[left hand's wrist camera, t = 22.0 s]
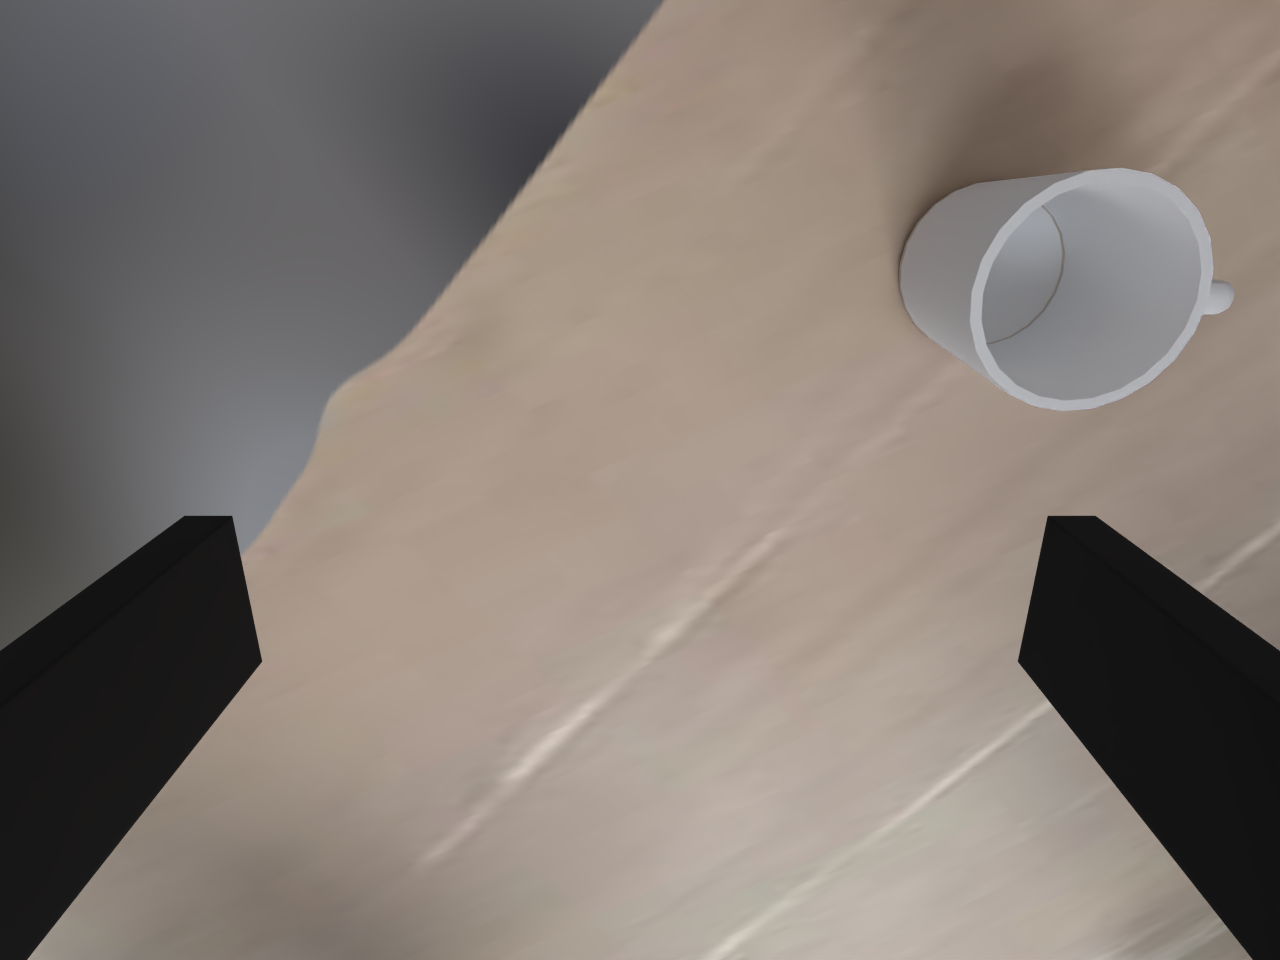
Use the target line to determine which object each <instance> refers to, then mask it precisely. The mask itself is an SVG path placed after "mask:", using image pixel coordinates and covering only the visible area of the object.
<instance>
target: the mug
mask: <svg viewBox="0 0 1280 960" xmlns="http://www.w3.org/2000/svg"><path fill="white" fill-rule="evenodd" d="M1213 270H1214V268H1213V258H1212V248H1211V238H1210V236H1209V233H1208V231H1207V229H1206V226H1205V224H1204V222H1203V219H1202V217H1201V214H1200V212H1199V210H1198V209H1197V208H1196V207H1195V206H1194V205H1193V203H1192V202H1191V201H1190V200H1189V199H1188V198H1187V197H1186V196H1185V194H1184V193H1183V192H1182V191H1181V190H1180V189H1179V188H1178V187H1176V186H1174V185H1172V184H1170V183H1169V182H1167V181H1165V180H1163V179H1161V178H1160V177H1158V176H1156V175H1154V174H1152V173H1147V172H1142V171H1136V170H1131V169H1126V168H1108V169H1098V170H1087V171H1078V172H1069V173H1061V174H1052V175H1044V176H1035V177H1026V178H1018V179H1009V180H1001V181H992V182H983V183H974V184H972V185H969V186H966V187H964V188H961V189H958V190H956V191H953V192H951V193H950V194H949V195H947V196H946V197H944V198H943V199H941V200H940V201H938V202H937V203H935V204H934V205H933V206H932V207H931V208H930V209H929V210H928V211H927V212H926V213H925V215H924V216H923V217H922V218H921V219H920V220H919V221H918V222H917V224H916V226H915V227H914V229H913V231H912V233H911V234H910V236H909V238H908V240H907V242H906V244H905V247H904V251H903V254H902V258H901V261H900V265H899V289H900V293H901V298H902V302H903V306H904V308H905V310H906V311H907V313H908V315H909V317H910V318H911V320H912V322H913V324H914V325H915V326H916V327H918V328H919V329H920V330H921V331H922V332H923V333H924V334H925V335H926V336H927V337H929V338H930V339H932V340H933V341H934V342H936V343H937V344H939V345H940V346H941V347H943V348H944V349H946V350H947V351H948V352H950V353H951V354H953V355H954V356H955V357H957V358H958V359H960V360H961V361H962V362H964V363H965V364H967V365H968V366H969V367H971V368H972V369H974V370H975V371H976V372H978V373H979V374H981V375H982V376H984V377H985V378H986V379H988V380H989V381H991V382H992V383H993V384H995V385H996V386H998V387H999V388H1000V389H1002V390H1003V391H1005V392H1006V393H1008V394H1010V395H1012V396H1014V397H1016V398H1018V399H1020V400H1022V401H1024V402H1026V403H1028V404H1030V405H1032V406H1035V407H1041V408H1047V409H1052V410H1058V411H1070V410H1082V409H1092V408H1095V407H1099V406H1102V405H1105V404H1108V403H1111V402H1114V401H1117V400H1120V399H1122V398H1124V397H1126V396H1128V395H1129V394H1131V393H1133V392H1134V391H1136V390H1138V389H1139V388H1141V387H1143V386H1144V385H1146V384H1148V383H1150V382H1151V381H1152V380H1153V379H1154V378H1155V377H1156V376H1158V375H1159V374H1160V373H1161V372H1162V371H1163V370H1164V369H1165V368H1166V367H1167V366H1168V365H1170V364H1171V363H1172V362H1173V361H1174V360H1175V359H1176V358H1177V356H1178V355H1179V353H1180V352H1181V351H1182V349H1183V348H1184V346H1185V345H1186V344H1187V342H1188V341H1189V339H1190V338H1191V337H1192V335H1193V334H1194V332H1195V331H1196V328H1197V326H1198V324H1199V321H1200V319H1201V317H1202V314H1218V313H1221V312H1223V311H1224V310H1226V309H1228V308H1229V306H1230V305H1231V303H1232V301H1233V300H1234V288H1233V287H1232V286H1231V284H1230V283H1229V282H1225V281H1222V280H1216V279H1212V276H1213Z"/></svg>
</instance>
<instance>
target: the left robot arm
mask: <svg viewBox="0 0 1280 960" xmlns="http://www.w3.org/2000/svg"><path fill="white" fill-rule="evenodd" d="M261 662H262V659H261V654H260V649H259V644H258V639H257V634H256V629H255V624H254V620H253V615H252V610H251V605H250V600H249V595H248V590H247V586H246V581H245V576H244V571H243V566H242V561H241V556H240V552H239V547H238V542H237V537H236V532H235V527H234V523H233V517H232V516H184V517H182V518H181V519H180V520H178V521H177V522H176V523H174V524H173V525H172V526H170V527H169V528H167V529H166V530H165V531H163V532H162V533H161V534H159V535H158V536H157V537H155V538H154V539H152V540H151V541H150V542H148V543H147V544H146V545H144V546H143V547H141V548H140V549H139V550H137V551H136V552H135V553H133V554H132V555H131V556H129V557H128V558H127V559H125V560H124V561H122V562H121V563H120V564H118V565H117V566H116V567H114V568H113V569H111V570H110V571H109V572H107V573H106V574H105V575H103V576H102V577H101V578H99V579H98V580H96V581H95V582H94V583H92V584H91V585H90V586H88V587H87V588H86V589H84V590H83V591H81V592H80V593H79V594H77V595H76V596H75V597H73V598H72V599H71V600H69V601H68V602H66V603H65V604H64V605H62V606H61V607H60V608H58V609H57V610H56V611H54V612H53V613H51V614H50V615H49V616H47V617H46V618H45V619H43V620H42V621H41V622H39V623H38V624H36V625H35V626H34V627H32V628H31V629H30V630H28V631H27V632H26V633H24V634H23V635H21V636H20V637H19V638H17V639H16V640H15V641H13V642H12V643H10V644H9V645H8V646H6V647H5V648H4V649H2V650H1V651H0V960H27V959H28V958H29V957H30V955H31V954H32V953H33V951H34V950H35V949H36V948H37V946H38V945H39V944H40V943H41V941H42V940H43V939H44V938H45V936H46V935H47V934H48V932H49V931H50V930H51V929H52V927H53V926H54V925H55V924H56V922H57V921H58V920H59V918H60V917H61V916H62V915H63V913H64V912H65V911H66V910H67V908H68V907H69V906H70V905H71V903H72V902H73V901H74V899H75V898H76V897H77V896H78V894H79V893H80V892H81V891H82V889H83V888H84V887H85V885H86V884H87V883H88V882H89V880H90V879H91V878H92V877H93V875H94V874H95V873H96V872H97V870H98V869H99V868H100V866H101V865H102V864H103V863H104V861H105V860H106V859H107V858H108V856H109V855H110V854H111V853H112V851H113V850H114V849H115V847H116V846H117V845H118V844H119V842H120V841H121V840H122V839H123V837H124V836H125V835H126V833H127V832H128V831H129V830H130V828H131V827H132V826H133V825H134V823H135V822H136V821H137V820H138V818H139V817H140V816H141V814H142V813H143V812H144V811H145V809H146V808H147V807H148V806H149V804H150V803H151V802H152V801H153V799H154V798H155V797H156V795H157V794H158V793H159V792H160V790H161V789H162V788H163V787H164V785H165V784H166V783H167V781H168V780H169V779H170V778H171V776H172V775H173V774H174V773H175V771H176V770H177V769H178V768H179V766H180V765H181V764H182V762H183V761H184V760H185V759H186V757H187V756H188V755H189V754H190V752H191V751H192V750H193V749H194V747H195V746H196V745H197V743H198V742H199V741H200V740H201V738H202V737H203V736H204V735H205V733H206V732H207V731H208V729H209V728H210V727H211V726H212V724H213V723H214V722H215V721H216V719H217V718H218V717H219V716H220V714H221V713H222V712H223V710H224V709H225V708H226V707H227V705H228V704H229V703H230V702H231V700H232V699H233V698H234V697H235V695H236V694H237V693H238V691H239V690H240V689H241V688H242V686H243V685H244V684H245V683H246V681H247V680H248V679H249V677H250V676H251V675H252V674H253V672H254V671H255V670H256V669H257V667H258V666H259V665H260V664H261ZM1018 662H1019V664H1020V665H1021V666H1022V667H1023V669H1024V670H1025V671H1026V672H1027V674H1028V675H1029V676H1030V677H1031V679H1032V680H1033V681H1034V683H1035V684H1036V685H1037V686H1038V688H1039V689H1040V690H1041V691H1042V693H1043V694H1044V695H1045V697H1046V698H1047V699H1048V700H1049V702H1050V703H1051V704H1052V705H1053V707H1054V708H1055V709H1056V710H1057V712H1058V713H1059V714H1060V716H1061V717H1062V718H1063V719H1064V721H1065V722H1066V723H1067V724H1068V726H1069V727H1070V728H1071V729H1072V731H1073V732H1074V733H1075V735H1076V736H1077V737H1078V738H1079V740H1080V741H1081V742H1082V743H1083V745H1084V746H1085V747H1086V749H1087V750H1088V751H1089V752H1090V754H1091V755H1092V756H1093V757H1094V759H1095V760H1096V761H1097V762H1098V764H1099V765H1100V766H1101V768H1102V769H1103V770H1104V771H1105V773H1106V774H1107V775H1108V776H1109V778H1110V779H1111V780H1112V781H1113V783H1114V784H1115V785H1116V787H1117V788H1118V789H1119V790H1120V792H1121V793H1122V794H1123V795H1124V797H1125V798H1126V799H1127V801H1128V802H1129V803H1130V804H1131V806H1132V807H1133V808H1134V809H1135V811H1136V812H1137V813H1138V814H1139V816H1140V817H1141V818H1142V820H1143V821H1144V822H1145V823H1146V825H1147V826H1148V827H1149V828H1150V830H1151V831H1152V832H1153V833H1154V835H1155V836H1156V837H1157V839H1158V840H1159V841H1160V842H1161V844H1162V845H1163V846H1164V847H1165V849H1166V850H1167V851H1168V853H1169V854H1170V855H1171V856H1172V858H1173V859H1174V860H1175V861H1176V863H1177V864H1178V865H1179V866H1180V868H1181V869H1182V870H1183V872H1184V873H1185V874H1186V875H1187V877H1188V878H1189V879H1190V880H1191V882H1192V883H1193V884H1194V885H1195V887H1196V888H1197V889H1198V891H1199V892H1200V893H1201V894H1202V896H1203V897H1204V898H1205V899H1206V901H1207V902H1208V903H1209V905H1210V906H1211V907H1212V908H1213V910H1214V911H1215V912H1216V913H1217V915H1218V916H1219V917H1220V918H1221V920H1222V921H1223V922H1224V924H1225V925H1226V926H1227V927H1228V929H1229V930H1230V931H1231V932H1232V934H1233V935H1234V936H1235V938H1236V939H1237V940H1238V941H1239V943H1240V944H1241V945H1242V946H1243V948H1244V949H1245V950H1246V951H1247V953H1248V954H1249V955H1250V957H1251V958H1252V959H1253V960H1280V651H1279V650H1278V649H1276V648H1275V647H1274V646H1272V645H1271V644H1270V643H1268V642H1267V641H1265V640H1264V639H1263V638H1261V637H1260V636H1259V635H1257V634H1256V633H1254V632H1253V631H1252V630H1250V629H1249V628H1248V627H1246V626H1245V625H1244V624H1242V623H1241V622H1239V621H1238V620H1237V619H1235V618H1234V617H1233V616H1231V615H1230V614H1229V613H1227V612H1226V611H1224V610H1223V609H1222V608H1220V607H1219V606H1218V605H1216V604H1215V603H1214V602H1212V601H1211V600H1209V599H1208V598H1207V597H1205V596H1204V595H1203V594H1201V593H1200V592H1199V591H1197V590H1196V589H1194V588H1193V587H1192V586H1190V585H1189V584H1188V583H1186V582H1185V581H1184V580H1182V579H1181V578H1179V577H1178V576H1177V575H1175V574H1174V573H1173V572H1171V571H1170V570H1169V569H1167V568H1166V567H1164V566H1163V565H1162V564H1160V563H1159V562H1158V561H1156V560H1155V559H1154V558H1152V557H1151V556H1149V555H1148V554H1147V553H1145V552H1144V551H1143V550H1141V549H1140V548H1139V547H1137V546H1136V545H1134V544H1133V543H1132V542H1130V541H1129V540H1128V539H1126V538H1125V537H1124V536H1122V535H1121V534H1119V533H1118V532H1117V531H1115V530H1114V529H1113V528H1111V527H1110V526H1108V525H1107V524H1106V523H1104V522H1103V521H1102V520H1100V519H1099V518H1098V517H1096V516H1048V517H1047V522H1046V527H1045V532H1044V537H1043V542H1042V547H1041V552H1040V556H1039V561H1038V566H1037V571H1036V576H1035V581H1034V586H1033V590H1032V595H1031V600H1030V605H1029V610H1028V615H1027V620H1026V624H1025V629H1024V634H1023V639H1022V644H1021V649H1020V654H1019V659H1018Z"/></svg>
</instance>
